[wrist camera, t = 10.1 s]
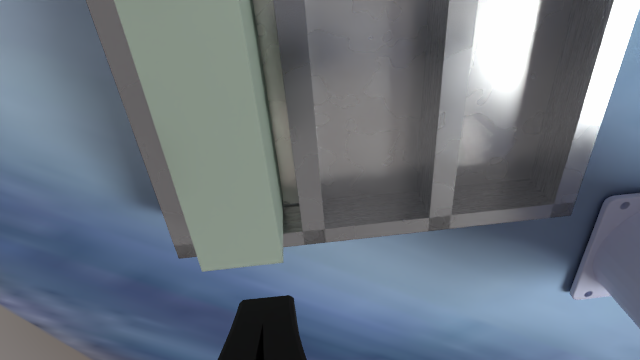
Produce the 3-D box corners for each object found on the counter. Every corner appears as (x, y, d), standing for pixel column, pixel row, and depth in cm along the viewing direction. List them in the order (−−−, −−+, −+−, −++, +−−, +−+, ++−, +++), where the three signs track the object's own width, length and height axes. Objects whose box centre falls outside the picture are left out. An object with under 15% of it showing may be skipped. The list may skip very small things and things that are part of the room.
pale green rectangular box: (247, -33, 14) (235, -15, 11) (282, 197, 20) (283, 262, 16) (157, -25, 14) (112, -4, 11) (217, 204, 20) (202, 271, 16)
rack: (624, -143, 14) (711, -158, 11) (539, 183, 22) (578, 223, 19) (89, -97, 14) (39, -100, 11) (190, 220, 21) (175, 268, 18)
